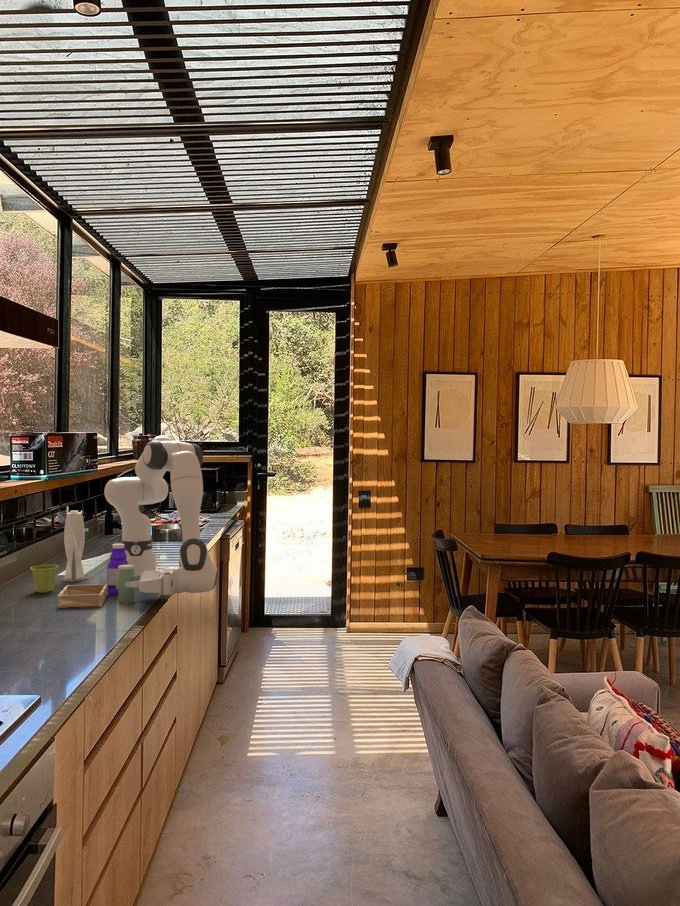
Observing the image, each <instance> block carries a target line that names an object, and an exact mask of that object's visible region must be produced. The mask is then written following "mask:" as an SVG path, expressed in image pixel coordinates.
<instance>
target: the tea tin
mask: <svg viewBox="0 0 680 906" xmlns="http://www.w3.org/2000/svg"><path fill="white" fill-rule="evenodd" d="M118 569H119V594H118V604H120V603H130V604H133V603H132V602H134V603H135V588H132V587H125V582H126V581H134V565H120V566H118Z"/></svg>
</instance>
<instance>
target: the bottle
mask: <svg viewBox="0 0 680 906" xmlns="http://www.w3.org/2000/svg"><path fill="white" fill-rule="evenodd" d="M111 549H112V551H111V554H110V556H109V558H110V559H109V561H108V564H107V573H106V574H107V577H106V578H107V579H106V580H107V581H106V582H107V583H106V584H108V595H119V569H118V566H120V565H129V564H128V562H127V560H126V558H127V555H126V554H125V546H124V544H121V543H113V544H112V548H111Z"/></svg>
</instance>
